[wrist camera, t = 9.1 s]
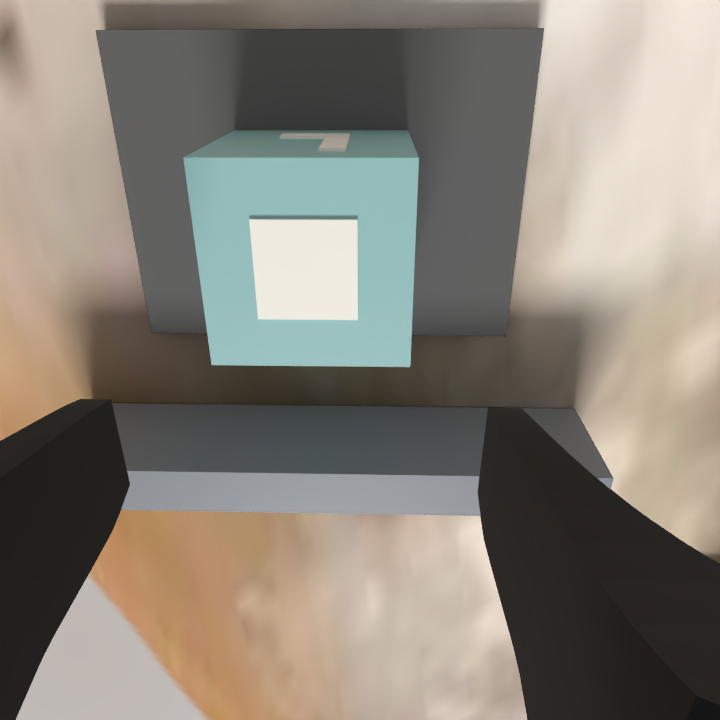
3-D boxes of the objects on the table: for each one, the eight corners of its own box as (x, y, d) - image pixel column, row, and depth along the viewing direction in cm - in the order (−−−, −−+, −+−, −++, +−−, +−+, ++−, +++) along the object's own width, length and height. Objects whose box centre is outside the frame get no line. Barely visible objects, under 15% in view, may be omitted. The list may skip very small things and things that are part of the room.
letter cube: (408, 127, 17) (419, 155, 12) (403, 294, 19) (410, 368, 15) (233, 127, 17) (181, 154, 12) (249, 293, 19) (210, 366, 15)
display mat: (538, 28, 16) (544, 27, 16) (502, 328, 20) (505, 336, 20) (104, 31, 16) (96, 30, 16) (157, 325, 21) (151, 332, 20)
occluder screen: (574, 408, 22) (613, 478, 18) (567, 444, 22) (603, 517, 19) (92, 403, 22) (37, 469, 19) (101, 437, 23) (49, 508, 19)
